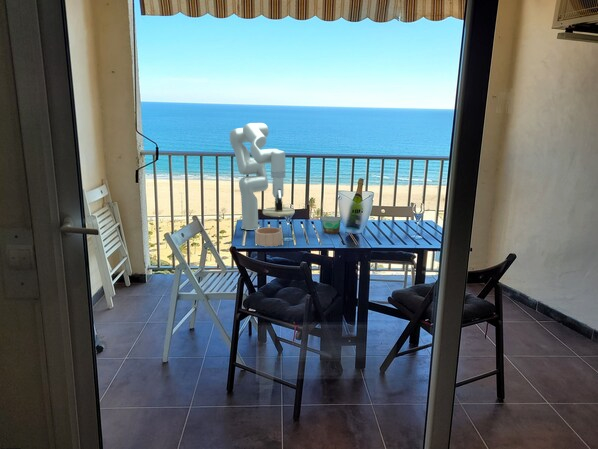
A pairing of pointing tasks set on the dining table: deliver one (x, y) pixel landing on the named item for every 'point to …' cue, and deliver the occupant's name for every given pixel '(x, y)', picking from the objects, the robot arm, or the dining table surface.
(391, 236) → the dining table surface
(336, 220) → the food container
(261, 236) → the bowl
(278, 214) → the lid
